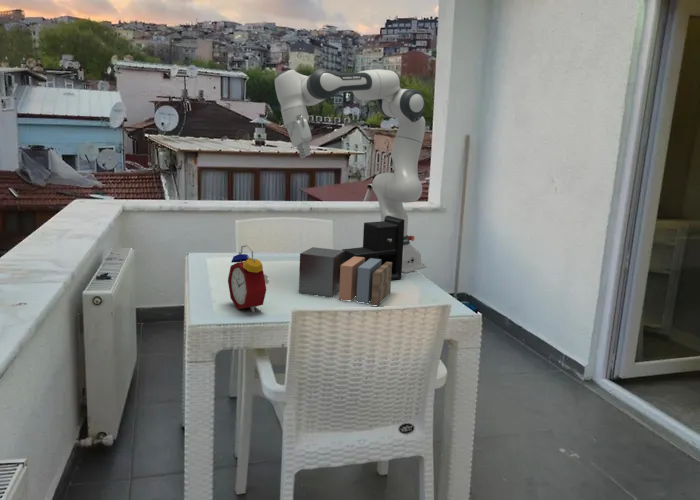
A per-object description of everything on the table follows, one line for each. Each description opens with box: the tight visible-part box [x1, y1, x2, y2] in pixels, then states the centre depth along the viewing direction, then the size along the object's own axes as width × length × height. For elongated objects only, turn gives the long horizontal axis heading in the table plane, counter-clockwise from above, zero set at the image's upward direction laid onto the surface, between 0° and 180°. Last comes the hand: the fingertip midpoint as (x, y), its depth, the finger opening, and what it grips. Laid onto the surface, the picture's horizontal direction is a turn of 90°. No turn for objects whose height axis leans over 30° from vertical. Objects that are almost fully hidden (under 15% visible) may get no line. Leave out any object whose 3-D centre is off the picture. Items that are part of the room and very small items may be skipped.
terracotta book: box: [338, 256, 365, 301], centre depth 193 cm, size 15×4×12 cm, turn 162°
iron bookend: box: [298, 246, 345, 298], centre depth 196 cm, size 12×12×14 cm
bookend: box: [341, 216, 404, 281], centre depth 213 cm, size 23×11×24 cm, turn 123°
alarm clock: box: [227, 244, 270, 314], centre depth 174 cm, size 15×9×20 cm, turn 35°
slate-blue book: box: [355, 258, 382, 304], centre depth 191 cm, size 15×4×12 cm, turn 162°
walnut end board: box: [370, 262, 392, 306], centre depth 190 cm, size 18×2×11 cm, turn 162°
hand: (305, 156), depth 200 cm, fingers open, 8 cm apart
